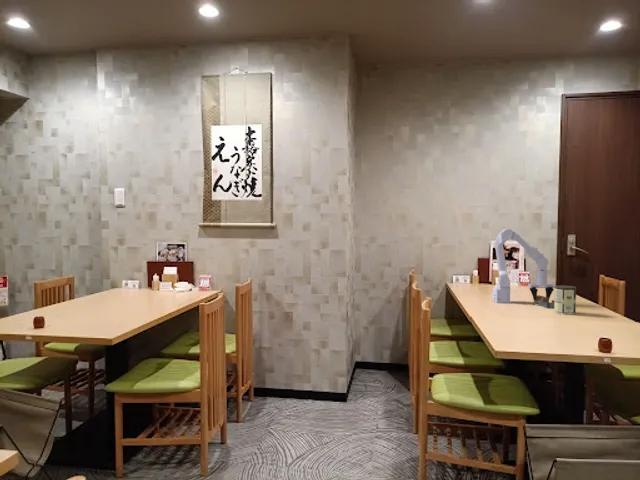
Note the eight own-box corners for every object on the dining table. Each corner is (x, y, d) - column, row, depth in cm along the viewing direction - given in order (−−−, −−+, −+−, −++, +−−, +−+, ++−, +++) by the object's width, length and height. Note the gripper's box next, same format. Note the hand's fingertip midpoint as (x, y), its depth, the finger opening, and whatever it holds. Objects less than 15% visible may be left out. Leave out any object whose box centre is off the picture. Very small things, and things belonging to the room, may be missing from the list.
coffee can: (563, 310, 259) (564, 284, 258) (580, 314, 250) (581, 287, 249) (549, 311, 255) (550, 285, 255) (565, 315, 246) (566, 288, 245)
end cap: (537, 305, 275) (537, 300, 275) (552, 305, 275) (553, 300, 275) (546, 308, 265) (546, 302, 265) (562, 308, 266) (562, 302, 266)
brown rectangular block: (548, 305, 275) (548, 297, 275) (542, 305, 274) (543, 298, 274) (539, 302, 285) (539, 295, 284) (533, 302, 284) (534, 295, 284)
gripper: (533, 277, 274) (532, 301, 275) (557, 277, 275) (557, 301, 276) (527, 276, 281) (526, 299, 282) (550, 276, 282) (550, 299, 283)
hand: (541, 300), depth 279 cm, fingers open, 7 cm apart
